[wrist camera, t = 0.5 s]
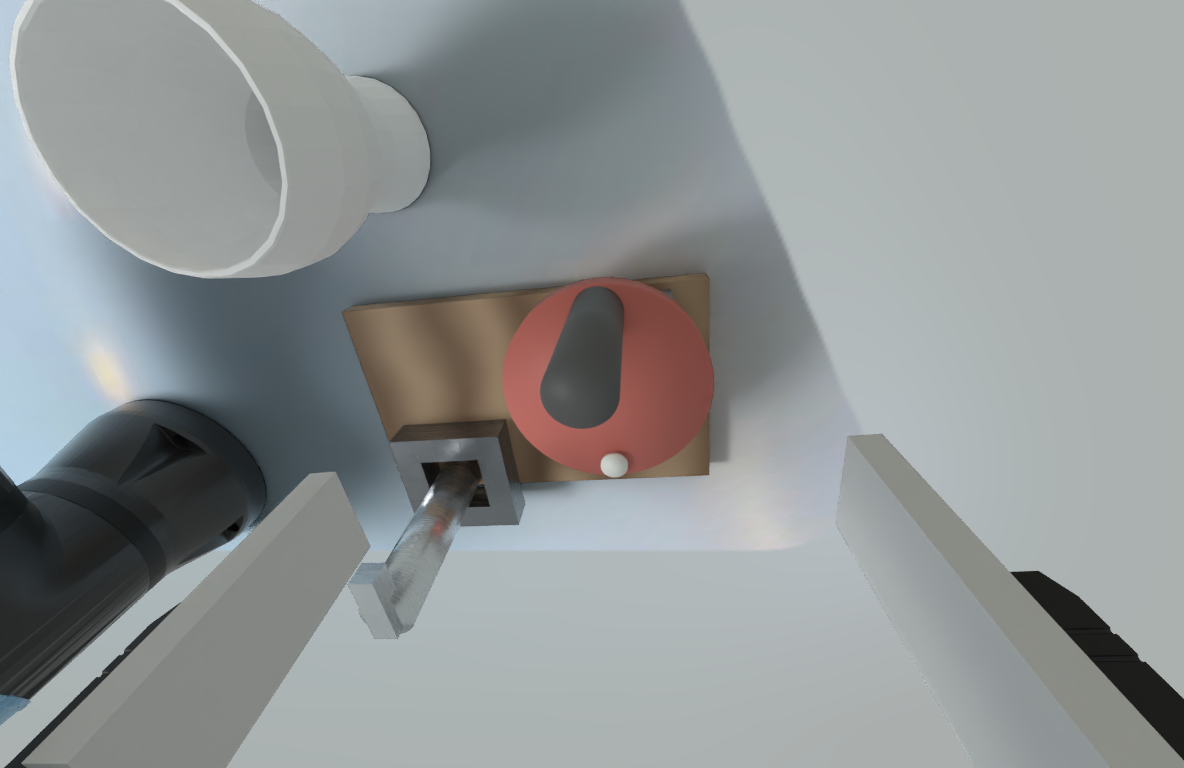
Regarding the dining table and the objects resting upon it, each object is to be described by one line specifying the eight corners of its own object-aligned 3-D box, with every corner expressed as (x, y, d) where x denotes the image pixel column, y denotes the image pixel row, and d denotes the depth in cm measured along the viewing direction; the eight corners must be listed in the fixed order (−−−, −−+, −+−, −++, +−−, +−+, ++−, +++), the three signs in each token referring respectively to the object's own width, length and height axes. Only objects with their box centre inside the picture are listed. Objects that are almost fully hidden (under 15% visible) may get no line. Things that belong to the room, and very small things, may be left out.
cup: (442, 48, 27) (250, -60, 13) (461, 237, 31) (335, 298, 18) (268, 46, 27) (-84, -59, 14) (313, 231, 32) (84, 287, 19)
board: (413, 476, 41) (389, 511, 37) (352, 306, 34) (315, 325, 30) (706, 463, 38) (715, 500, 34) (705, 273, 31) (716, 290, 27)
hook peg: (452, 481, 39) (363, 645, 26) (437, 432, 37) (331, 584, 24) (488, 480, 39) (415, 645, 26) (475, 430, 37) (388, 583, 24)
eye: (431, 507, 41) (419, 527, 38) (403, 425, 37) (388, 442, 35) (525, 503, 40) (518, 524, 37) (505, 419, 36) (497, 436, 34)
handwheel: (528, 461, 34) (480, 605, 23) (491, 287, 28) (404, 370, 17) (708, 453, 32) (748, 603, 21) (709, 267, 26) (762, 343, 16)
